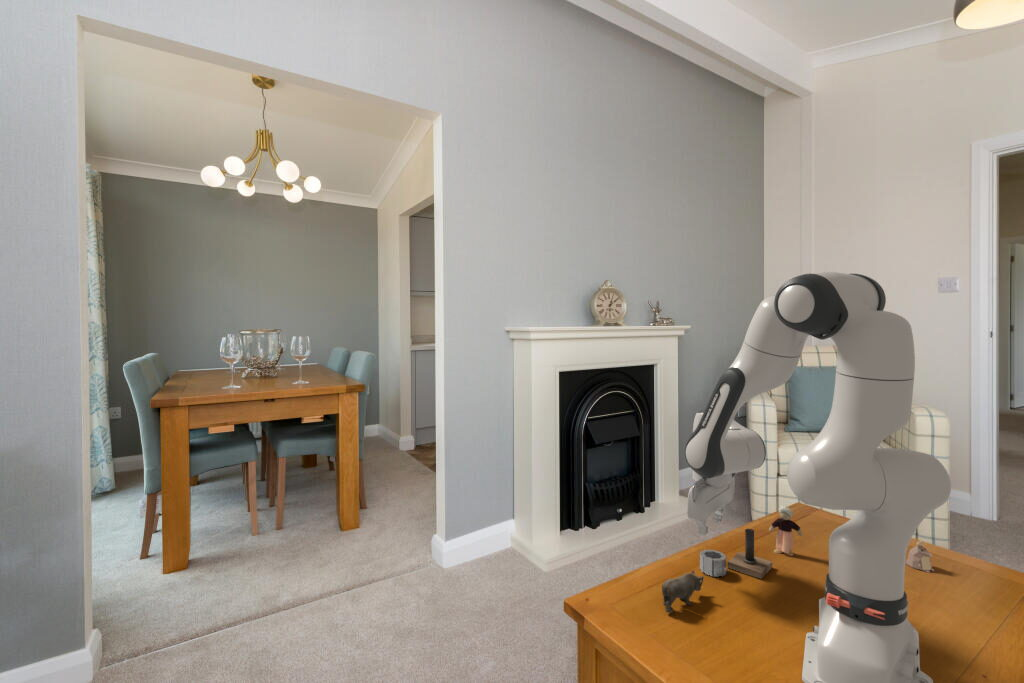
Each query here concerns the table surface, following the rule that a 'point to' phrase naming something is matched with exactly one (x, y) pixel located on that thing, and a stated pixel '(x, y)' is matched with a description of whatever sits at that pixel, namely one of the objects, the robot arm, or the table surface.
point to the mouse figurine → (919, 558)
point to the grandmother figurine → (785, 531)
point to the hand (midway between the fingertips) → (711, 527)
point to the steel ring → (713, 563)
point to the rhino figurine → (680, 589)
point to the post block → (749, 559)
